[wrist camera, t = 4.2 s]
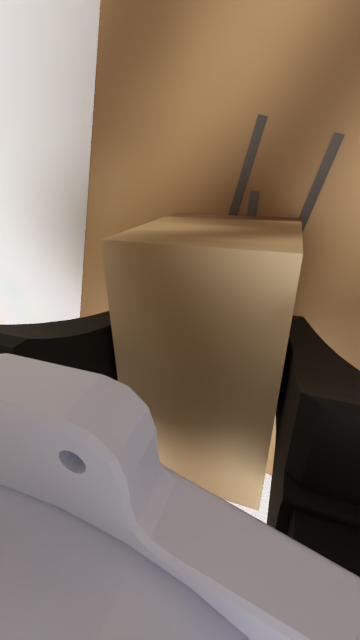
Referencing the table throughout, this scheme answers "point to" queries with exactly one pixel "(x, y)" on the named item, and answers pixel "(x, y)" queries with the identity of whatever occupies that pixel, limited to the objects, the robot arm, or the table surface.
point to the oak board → (233, 136)
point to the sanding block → (206, 338)
